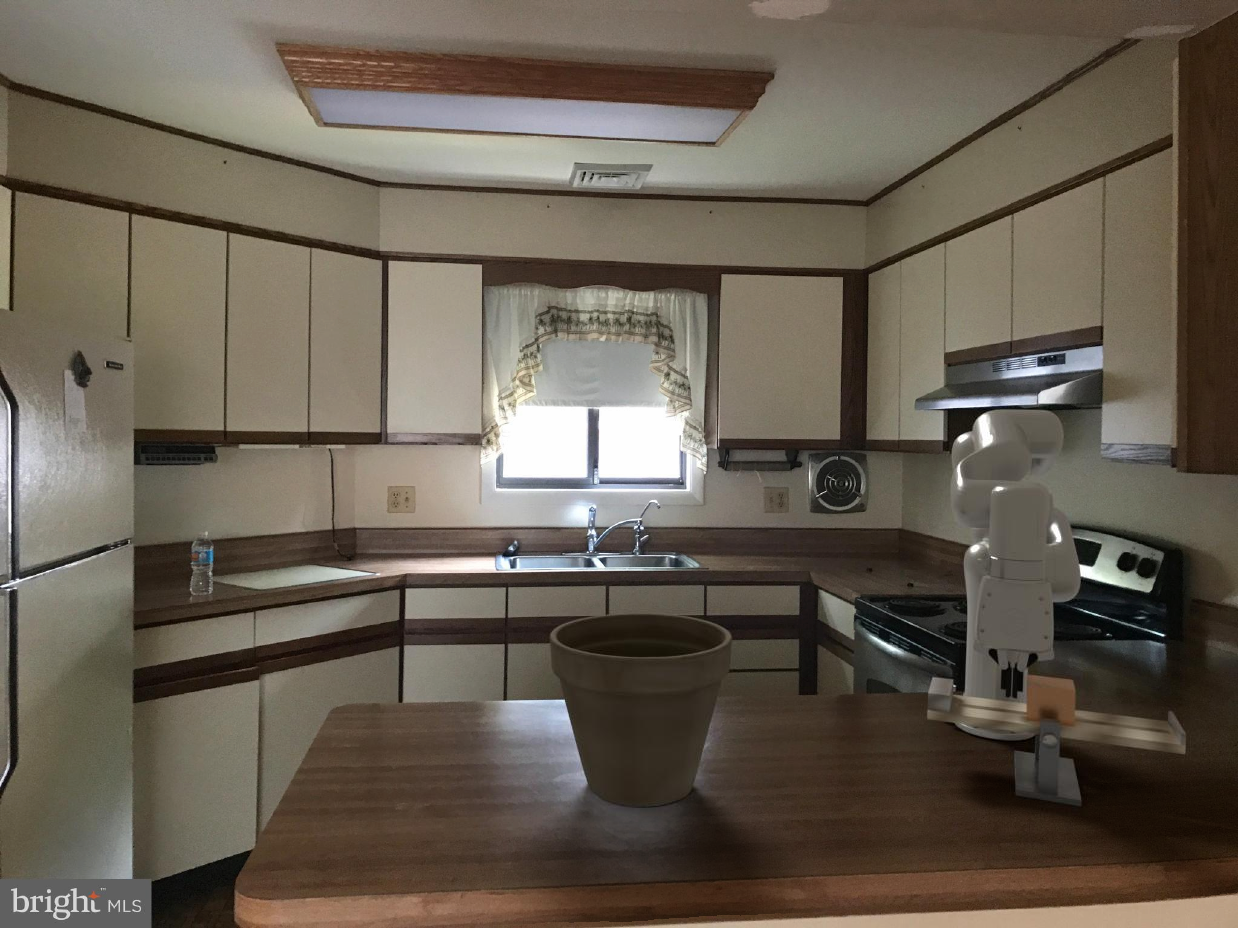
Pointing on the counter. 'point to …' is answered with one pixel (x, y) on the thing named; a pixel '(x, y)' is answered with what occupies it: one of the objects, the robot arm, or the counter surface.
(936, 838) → the counter surface
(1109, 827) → the counter surface
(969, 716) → the beam
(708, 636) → the plant pot
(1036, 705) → the block
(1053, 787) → the pivot stand
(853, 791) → the counter surface
